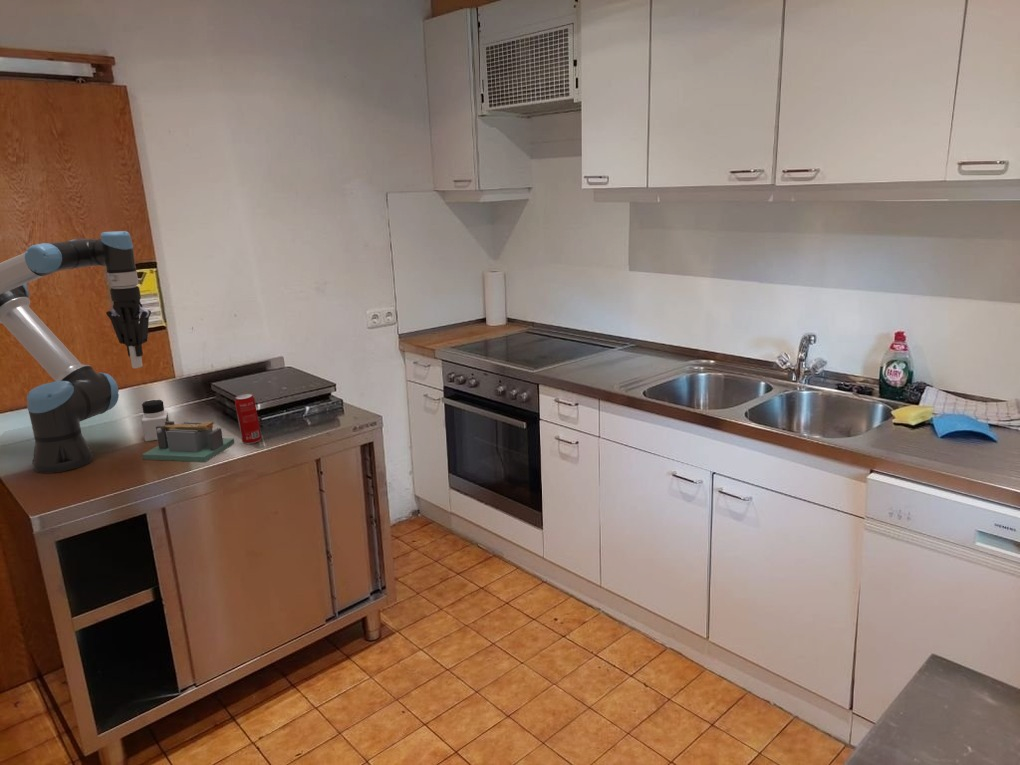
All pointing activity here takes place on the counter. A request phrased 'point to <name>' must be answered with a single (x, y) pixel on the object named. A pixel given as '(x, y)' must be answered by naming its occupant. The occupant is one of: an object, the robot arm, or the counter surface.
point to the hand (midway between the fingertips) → (137, 367)
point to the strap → (190, 426)
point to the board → (186, 455)
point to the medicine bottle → (153, 418)
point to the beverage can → (247, 418)
